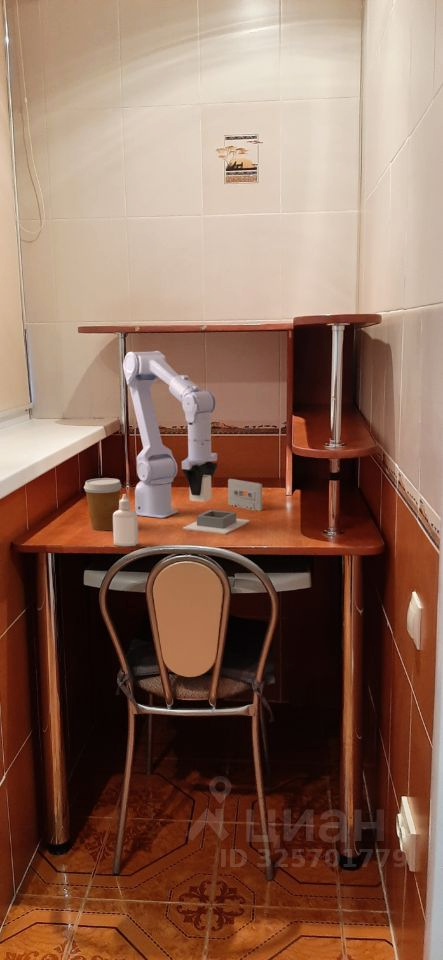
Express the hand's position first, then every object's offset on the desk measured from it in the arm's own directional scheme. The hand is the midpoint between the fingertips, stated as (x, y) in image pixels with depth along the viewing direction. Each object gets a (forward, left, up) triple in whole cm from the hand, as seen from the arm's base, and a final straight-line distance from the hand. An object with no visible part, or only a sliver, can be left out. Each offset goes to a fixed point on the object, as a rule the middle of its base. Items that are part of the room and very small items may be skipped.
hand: (200, 493), depth 194 cm
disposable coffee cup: (-22, -10, -9) cm, 26 cm away
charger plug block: (0, 0, -2) cm, 2 cm away
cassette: (+1, +25, -9) cm, 26 cm away
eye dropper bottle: (-8, -21, -9) cm, 25 cm away
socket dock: (+3, +4, -9) cm, 10 cm away
